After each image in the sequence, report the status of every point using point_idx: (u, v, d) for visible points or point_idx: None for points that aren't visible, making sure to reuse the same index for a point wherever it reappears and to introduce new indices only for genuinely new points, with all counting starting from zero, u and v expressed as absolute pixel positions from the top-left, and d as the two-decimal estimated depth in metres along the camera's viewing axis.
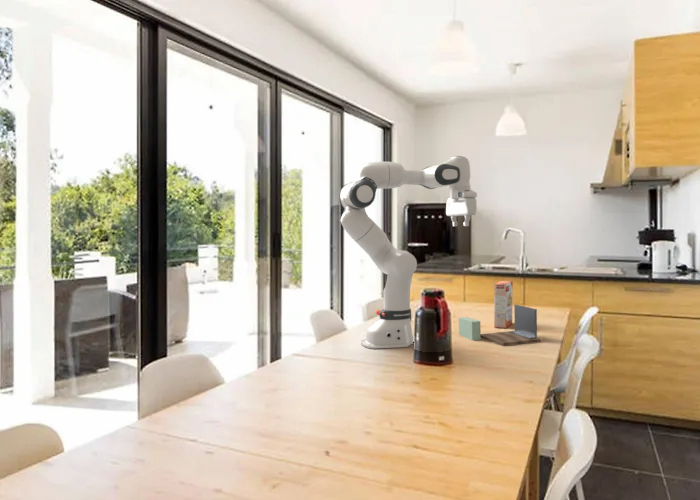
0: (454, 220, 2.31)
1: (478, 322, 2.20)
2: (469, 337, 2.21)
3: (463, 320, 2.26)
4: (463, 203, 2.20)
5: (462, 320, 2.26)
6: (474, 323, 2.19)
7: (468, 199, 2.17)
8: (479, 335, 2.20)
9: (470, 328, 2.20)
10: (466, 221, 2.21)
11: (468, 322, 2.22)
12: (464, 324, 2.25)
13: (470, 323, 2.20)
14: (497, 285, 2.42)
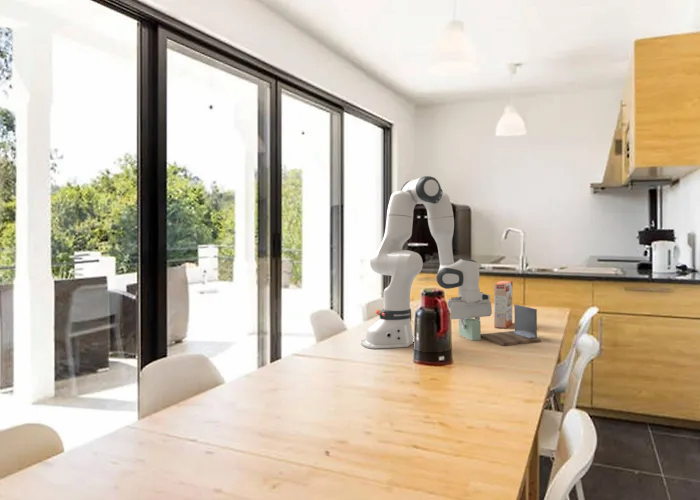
0: None
1: (478, 322, 2.20)
2: (469, 337, 2.21)
3: None
4: (482, 305, 2.25)
5: None
6: (474, 323, 2.19)
7: None
8: (479, 335, 2.20)
9: (470, 327, 2.20)
10: None
11: (468, 322, 2.22)
12: None
13: (470, 323, 2.20)
14: (497, 285, 2.42)
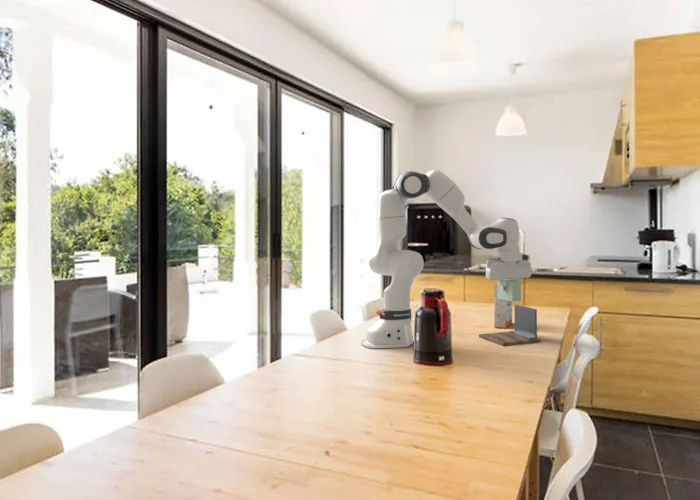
0: None
1: (518, 282, 2.13)
2: (509, 298, 2.15)
3: None
4: (521, 266, 2.18)
5: None
6: (514, 283, 2.13)
7: None
8: (519, 296, 2.14)
9: (510, 288, 2.14)
10: None
11: (508, 283, 2.15)
12: None
13: (510, 283, 2.14)
14: None
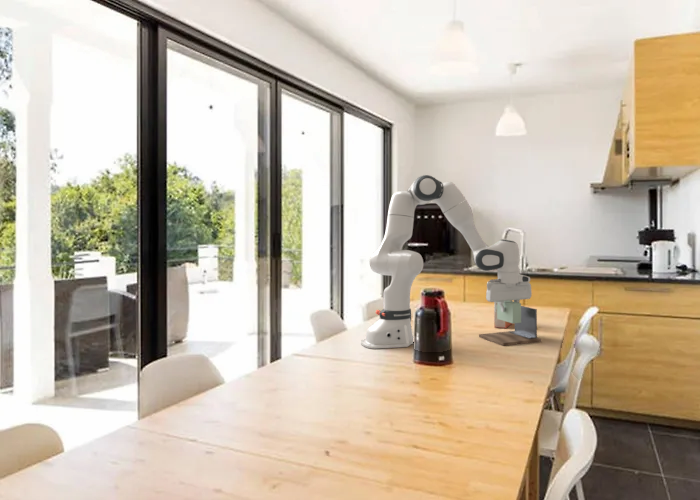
0: None
1: (519, 304, 2.14)
2: (509, 320, 2.16)
3: None
4: (521, 287, 2.19)
5: None
6: (515, 305, 2.14)
7: None
8: (520, 318, 2.15)
9: (511, 310, 2.14)
10: None
11: (508, 304, 2.16)
12: None
13: (510, 305, 2.14)
14: None
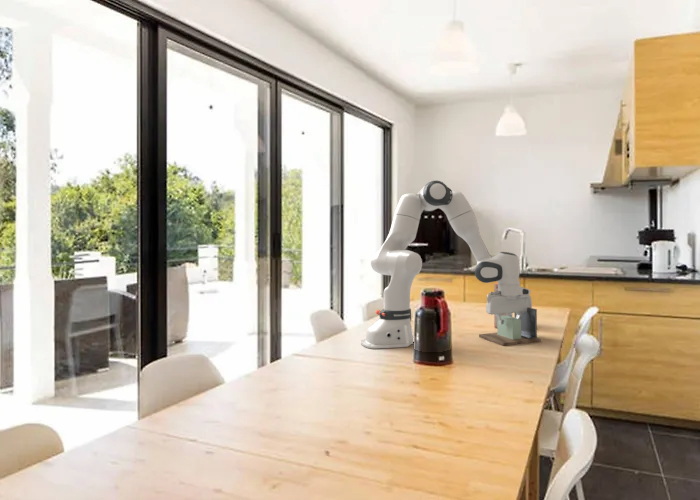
0: None
1: (519, 320, 2.14)
2: (509, 336, 2.16)
3: (502, 318, 2.20)
4: (522, 300, 2.19)
5: (501, 318, 2.21)
6: (515, 321, 2.14)
7: None
8: (520, 334, 2.15)
9: (511, 326, 2.14)
10: None
11: (508, 320, 2.16)
12: None
13: (510, 321, 2.15)
14: (497, 285, 2.42)
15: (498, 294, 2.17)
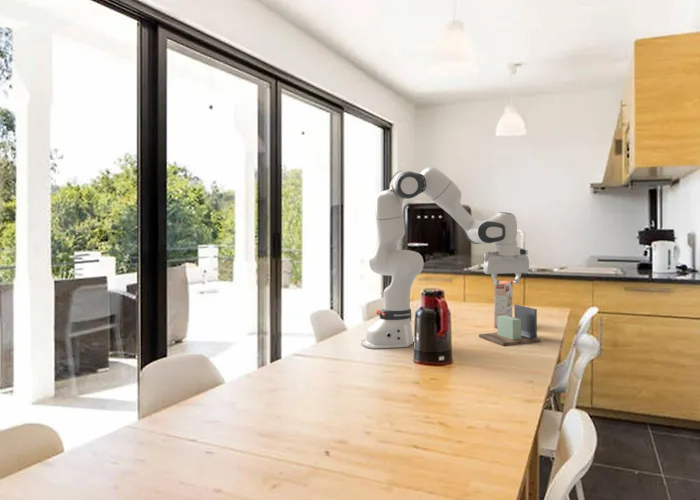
0: None
1: (519, 320, 2.14)
2: (509, 336, 2.16)
3: (502, 318, 2.20)
4: (519, 260, 2.19)
5: (501, 318, 2.21)
6: (515, 321, 2.14)
7: None
8: (520, 334, 2.15)
9: (511, 326, 2.14)
10: None
11: (508, 320, 2.16)
12: (503, 322, 2.19)
13: (510, 321, 2.15)
14: (497, 285, 2.42)
15: (495, 254, 2.17)
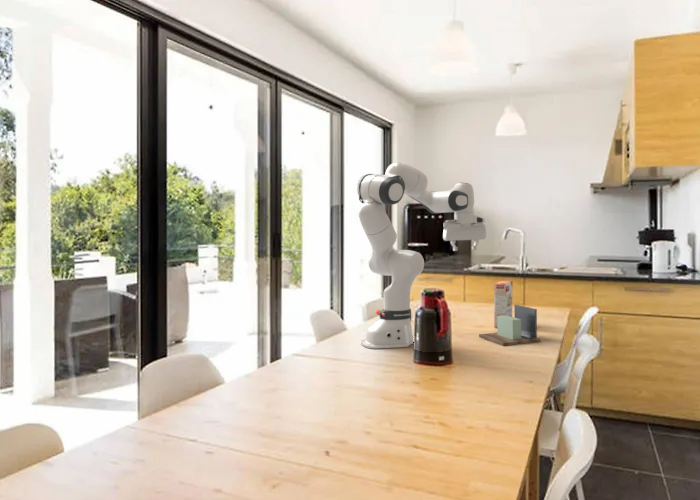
0: None
1: (519, 320, 2.14)
2: (509, 336, 2.16)
3: (502, 318, 2.20)
4: (476, 228, 2.34)
5: (501, 318, 2.21)
6: (515, 321, 2.14)
7: None
8: (520, 334, 2.15)
9: (511, 326, 2.14)
10: None
11: (508, 320, 2.16)
12: (503, 322, 2.19)
13: (510, 321, 2.15)
14: (497, 285, 2.42)
15: (454, 222, 2.31)
